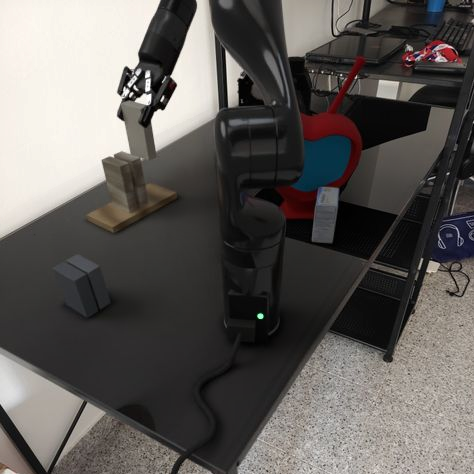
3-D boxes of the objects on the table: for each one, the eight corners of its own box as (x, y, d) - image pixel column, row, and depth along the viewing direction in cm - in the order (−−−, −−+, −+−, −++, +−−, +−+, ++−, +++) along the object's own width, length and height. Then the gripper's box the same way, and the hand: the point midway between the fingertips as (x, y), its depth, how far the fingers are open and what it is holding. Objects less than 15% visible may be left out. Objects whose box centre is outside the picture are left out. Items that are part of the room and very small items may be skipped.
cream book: (138, 150, 99) (129, 100, 91) (156, 157, 96) (148, 105, 88) (130, 154, 97) (120, 103, 90) (149, 160, 95) (140, 108, 87)
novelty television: (257, 222, 96) (260, 65, 75) (259, 195, 105) (262, 48, 83) (351, 223, 95) (382, 65, 73) (344, 196, 104) (370, 47, 82)
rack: (151, 188, 109) (143, 138, 100) (177, 198, 105) (171, 147, 96) (87, 220, 98) (72, 168, 89) (114, 233, 94) (100, 179, 85)
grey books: (89, 290, 80) (77, 253, 74) (110, 302, 77) (99, 265, 72) (66, 304, 77) (51, 267, 71) (87, 318, 75) (74, 281, 69)
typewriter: (336, 185, 108) (354, 69, 90) (231, 177, 112) (228, 65, 94) (341, 138, 129) (356, 37, 111) (252, 133, 133) (253, 35, 115)
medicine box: (332, 244, 89) (338, 205, 83) (310, 242, 90) (315, 203, 84) (334, 225, 95) (340, 187, 89) (313, 223, 95) (318, 185, 89)
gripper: (127, 26, 88) (96, 105, 90) (178, 34, 82) (143, 119, 84) (150, 51, 95) (120, 125, 97) (199, 61, 88) (166, 139, 91)
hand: (131, 122), depth 90 cm, fingers closed on cream book, 6 cm apart
